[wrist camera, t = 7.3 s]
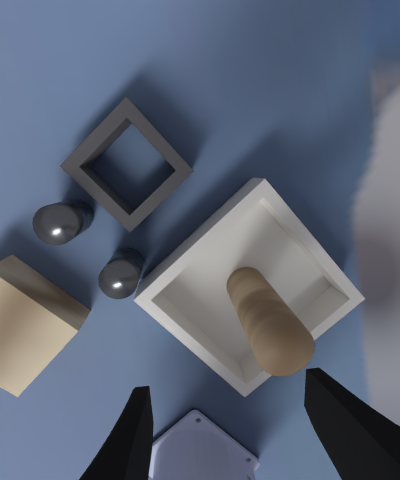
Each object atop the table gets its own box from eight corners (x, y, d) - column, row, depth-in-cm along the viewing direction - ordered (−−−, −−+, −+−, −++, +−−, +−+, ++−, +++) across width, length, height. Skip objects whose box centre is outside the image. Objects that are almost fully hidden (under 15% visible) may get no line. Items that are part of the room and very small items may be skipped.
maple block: (91, 309, 22) (78, 331, 19) (37, 368, 23) (17, 397, 20) (13, 253, 20) (-14, 267, 17) (-42, 318, 21) (-76, 342, 18)
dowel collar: (191, 170, 19) (193, 171, 17) (134, 226, 20) (129, 232, 18) (131, 104, 18) (126, 96, 16) (71, 166, 19) (59, 166, 17)
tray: (340, 282, 23) (365, 298, 20) (236, 369, 24) (244, 397, 21) (252, 177, 20) (265, 178, 17) (139, 282, 21) (133, 300, 18)
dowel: (265, 266, 21) (318, 322, 13) (262, 302, 22) (310, 375, 14) (227, 266, 21) (258, 323, 13) (225, 302, 21) (253, 377, 14)
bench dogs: (150, 263, 21) (145, 281, 17) (128, 284, 21) (119, 305, 18) (73, 191, 19) (51, 196, 16) (50, 215, 19) (23, 224, 16)
